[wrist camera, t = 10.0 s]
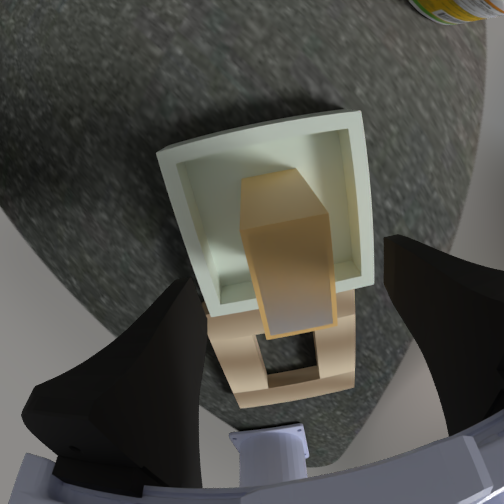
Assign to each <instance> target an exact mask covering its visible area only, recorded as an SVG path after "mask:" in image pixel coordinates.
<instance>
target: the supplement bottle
mask: <svg viewBox="0 0 504 504" xmlns="http://www.w3.org/2000/svg"><path fill="white" fill-rule="evenodd" d="M408 1H409V2H410V3H411V4H412V5H413V6H414V7H415V8H416V9H417V10H418V11H419V12H420V13H421V14H422V15H424V16H425V17H427V18H429V19H430V20H432V21H434V22H437V23H440V24H444V25H454V24H460V23H465V22H470V21H476V20H481V19H487V18H493V17H500V16H504V0H408Z"/></svg>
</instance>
